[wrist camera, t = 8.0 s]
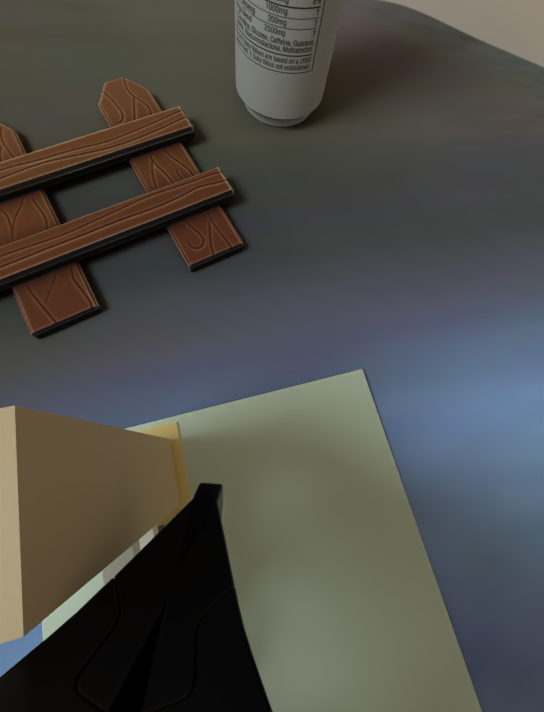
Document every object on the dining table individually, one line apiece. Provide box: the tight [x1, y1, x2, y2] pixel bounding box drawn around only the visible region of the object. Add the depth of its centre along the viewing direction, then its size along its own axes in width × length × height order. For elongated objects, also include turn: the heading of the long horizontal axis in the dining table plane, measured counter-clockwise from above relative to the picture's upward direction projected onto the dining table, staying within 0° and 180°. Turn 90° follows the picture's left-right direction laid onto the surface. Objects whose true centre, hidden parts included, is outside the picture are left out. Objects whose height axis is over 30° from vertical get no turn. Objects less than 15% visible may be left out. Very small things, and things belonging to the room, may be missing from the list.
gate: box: [0, 406, 180, 644], centre depth 9 cm, size 11×3×12 cm, turn 14°
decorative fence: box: [0, 78, 244, 339], centre depth 19 cm, size 23×2×15 cm
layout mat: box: [42, 369, 482, 712], centre depth 14 cm, size 25×17×1 cm
